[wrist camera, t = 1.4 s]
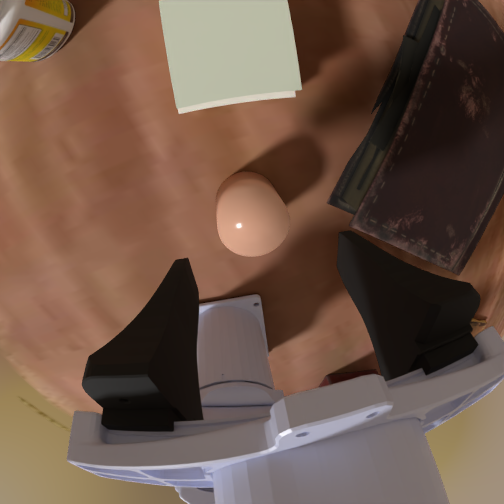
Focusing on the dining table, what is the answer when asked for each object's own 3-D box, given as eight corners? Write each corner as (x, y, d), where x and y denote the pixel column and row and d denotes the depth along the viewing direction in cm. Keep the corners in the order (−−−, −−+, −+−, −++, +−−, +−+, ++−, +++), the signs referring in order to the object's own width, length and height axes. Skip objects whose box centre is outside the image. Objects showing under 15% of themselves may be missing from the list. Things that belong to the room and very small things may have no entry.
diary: (511, 88, 18) (541, 96, 14) (438, 255, 29) (463, 279, 25) (415, -22, 12) (450, -32, 8) (316, 197, 23) (341, 224, 19)
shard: (461, 314, 36) (467, 321, 35) (490, 294, 36) (496, 300, 34) (452, 349, 42) (456, 356, 40) (478, 331, 41) (483, 336, 40)
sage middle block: (284, 91, 15) (301, 89, 12) (183, 107, 15) (176, 109, 12) (270, 4, 12) (284, -15, 9) (168, 18, 12) (158, 1, 9)
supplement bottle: (39, 0, 10) (-37, -23, 1) (89, 1, 11) (18, -40, 3) (13, 60, 12) (-73, 65, 3) (60, 66, 14) (-30, 63, 5)
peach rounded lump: (278, 221, 23) (292, 249, 19) (221, 231, 23) (224, 261, 19) (272, 167, 21) (287, 184, 17) (211, 177, 20) (211, 197, 17)
